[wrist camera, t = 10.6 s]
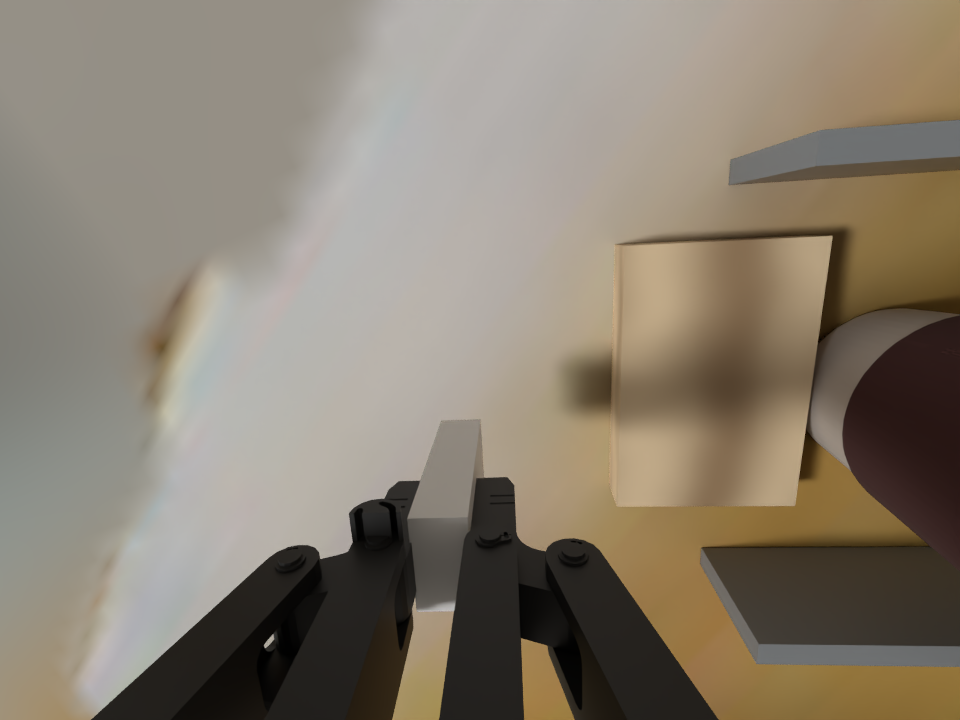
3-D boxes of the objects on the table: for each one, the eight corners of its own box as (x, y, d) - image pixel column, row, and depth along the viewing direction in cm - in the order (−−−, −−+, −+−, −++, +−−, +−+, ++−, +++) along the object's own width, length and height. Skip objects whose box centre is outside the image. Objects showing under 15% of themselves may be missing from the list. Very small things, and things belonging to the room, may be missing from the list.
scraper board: (607, 479, 25) (617, 506, 22) (612, 244, 22) (624, 245, 19) (766, 478, 24) (795, 505, 22) (795, 235, 21) (832, 235, 18)
